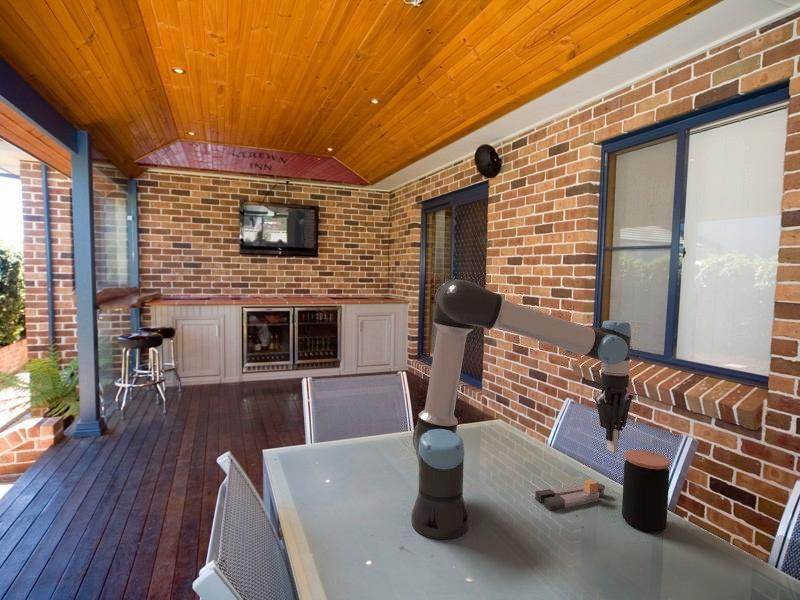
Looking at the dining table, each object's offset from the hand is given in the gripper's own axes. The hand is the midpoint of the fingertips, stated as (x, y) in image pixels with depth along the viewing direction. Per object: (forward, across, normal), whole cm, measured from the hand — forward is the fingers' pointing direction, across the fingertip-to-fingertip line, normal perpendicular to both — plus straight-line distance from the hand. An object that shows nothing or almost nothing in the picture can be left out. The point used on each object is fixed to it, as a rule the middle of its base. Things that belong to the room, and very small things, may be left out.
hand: (612, 450), depth 135 cm
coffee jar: (+14, +3, +14) cm, 20 cm away
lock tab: (+11, +8, 0) cm, 14 cm away
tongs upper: (+14, +14, -4) cm, 20 cm away
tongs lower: (+14, +12, -1) cm, 19 cm away
